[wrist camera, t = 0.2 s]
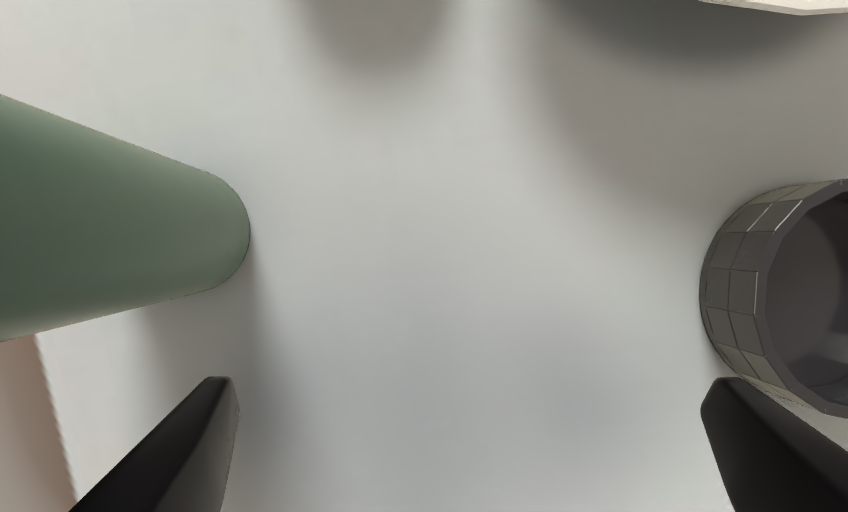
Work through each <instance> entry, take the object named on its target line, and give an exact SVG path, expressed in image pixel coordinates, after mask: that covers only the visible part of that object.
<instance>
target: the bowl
mask: <svg viewBox="0 0 848 512" xmlns="http://www.w3.org/2000/svg"><path fill="white" fill-rule="evenodd" d="M698 1H701V2H708V3H715V4H722V5H728V6H735V7H742V8H744V7H745V8H752V9H759V10H766V11H773V12H779V13H786V14H793V15H816V14H832V13H848V0H698Z"/></svg>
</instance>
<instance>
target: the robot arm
mask: <svg viewBox="0 0 848 512" xmlns="http://www.w3.org/2000/svg"><path fill="white" fill-rule="evenodd" d="M701 418H702V421H703V424H704V427H705V430H706V433H707V436H708V439H709V442H710V445H711V448H712V451H713V454H714V457H715V459H716V462H717V465H718V468H719V471H720V474H721V477H722V480H723V483H724V486H725V488H726V491H727V493H728V496H729V498H730V501H731V503H732V505H733V508H734V510H735V512H848V452H847V451H846V450H844V449H843V448H842V447H840V446H839V445H837V444H836V443H834V442H833V441H831V440H830V439H829V438H827V437H826V436H824V435H823V434H821V433H820V432H819V431H817V430H816V429H814V428H813V427H811V426H810V425H808V424H807V423H806V422H804V421H803V420H801V419H800V418H798V417H797V416H795V415H794V414H793V413H791V412H790V411H788V410H787V409H785V408H784V407H783V406H781V405H780V404H778V403H777V402H775V401H774V400H772V399H771V398H770V397H768V396H767V395H765V394H764V393H762V392H761V391H760V390H758V389H757V388H755V387H754V386H752V385H751V384H749V383H748V382H747V381H745V380H743V379H741V378H738V377H720V378H717V379H716V380H715V381H714V382H713V384H712V386H711V387H710V389H709V391H708V393H707V395H706V397H705V399H704V400H703V402H702V405H701ZM238 421H239V404H238V400H237V396H236V391H235V387H234V383H233V380H232V379H231V378H230V377H207V378H206V379H204V380H203V381H202V382H201V383H200V384H199V385H198V386H197V387H196V388H195V389H194V390H193V391H192V392H191V393H190V394H189V395H188V396H187V397H186V398H185V399H184V400H183V401H181V402H180V403H179V404H178V405H177V406H176V407H175V408H174V409H173V410H172V411H171V412H170V413H169V414H168V415H167V416H166V417H165V418H164V419H163V420H162V421H161V422H160V423H159V424H158V425H157V426H156V427H155V428H154V429H153V430H152V431H151V432H150V433H149V434H148V435H147V436H146V437H145V438H143V439H142V440H141V441H140V442H139V443H138V444H137V445H136V446H135V447H134V448H133V449H132V450H131V451H130V452H129V453H128V454H127V455H126V456H125V457H124V458H123V459H122V460H121V461H120V462H119V463H118V464H117V465H116V466H115V467H114V468H113V469H112V470H111V471H110V472H109V473H108V474H107V475H105V476H104V477H103V478H102V479H101V480H100V481H99V482H98V483H97V484H96V485H95V486H94V487H93V488H92V489H91V490H90V491H89V492H88V493H87V494H86V495H85V496H84V497H83V498H82V499H81V500H80V501H79V502H78V503H77V504H76V505H75V506H74V507H73V508H72V509H71V510H70V511H69V512H220V510H221V506H222V502H223V498H224V493H225V489H226V483H227V478H228V473H229V468H230V463H231V457H232V452H233V447H234V442H235V436H236V431H237V426H238Z"/></svg>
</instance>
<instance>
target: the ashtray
mask: <svg viewBox="0 0 848 512" xmlns="http://www.w3.org/2000/svg"><path fill="white" fill-rule="evenodd" d="M700 305H701V313H702V317H703V321H704V325H705V328H706V330H707V333H708V335H709V338H710V340H711V341H712V343H713V345H714V347H715V348H716V350H717V352H718V353H719V354H720V356H721V357H722V358H723V359H724V361H725V362H726V363H727V364H728V365H729V366H730V367H731V368H732V369H733V370H734V371H735V372H737V373H738V374H739V375H741V376H742V377H743V378H744V379H746V380H748V381H750V382H752V383H753V384H755V385H757V386H760V387H761V388H763V389H764V390H766V391H768V392H771V393H773V394H776V395H778V396H781V397H783V398H786V399H788V400H791V401H793V402H796V403H798V404H801V405H803V406H806V407H808V408H811V409H813V410H816V411H819V412H821V413H824V414H828V415H832V416H837V417H842V418H846V419H848V179H840V180H833V181H826V182H819V183H812V184H805V185H798V186H790V187H783V188H780V189H777V190H774V191H771V192H768V193H765V194H763V195H761V196H759V197H756V198H755V199H753V200H751V201H750V202H748V203H747V204H745V205H744V206H742V207H741V208H740V209H739V210H738V211H736V212H735V213H734V214H733V215H732V216H731V217H730V218H729V219H728V220H727V221H726V222H725V223H724V225H723V226H722V228H721V229H720V230H719V232H718V233H717V234H716V236H715V238H714V240H713V242H712V243H711V245H710V247H709V250H708V252H707V255H706V257H705V261H704V264H703V268H702V272H701V280H700Z"/></svg>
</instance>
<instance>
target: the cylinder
mask: <svg viewBox="0 0 848 512" xmlns="http://www.w3.org/2000/svg"><path fill="white" fill-rule="evenodd" d="M249 237H250V225H249V219H248V215H247V212H246V209H245V207H244V205H243V203H242V201H241V199H240V198H239V196H238V195H237V194H236V192H235V191H234V190H233V189H232V188H231V187H230V186H229V185H228V184H227V183H225V182H224V181H223V180H221V179H220V178H218V177H216V176H214V175H212V174H210V173H207V172H205V171H202V170H199V169H197V168H194V167H191V166H189V165H186V164H184V163H181V162H178V161H176V160H173V159H170V158H168V157H165V156H162V155H160V154H157V153H155V152H152V151H149V150H147V149H144V148H141V147H139V146H136V145H133V144H131V143H128V142H126V141H123V140H120V139H118V138H115V137H112V136H110V135H107V134H104V133H102V132H99V131H97V130H94V129H91V128H89V127H86V126H83V125H81V124H78V123H75V122H73V121H70V120H68V119H65V118H62V117H60V116H57V115H54V114H52V113H49V112H46V111H44V110H41V109H38V108H36V107H33V106H31V105H28V104H25V103H23V102H20V101H17V100H15V99H12V98H9V97H7V96H4V95H2V94H0V342H3V341H7V340H11V339H15V338H19V337H23V336H27V335H31V334H35V333H39V332H43V331H47V330H51V329H55V328H59V327H63V326H67V325H71V324H75V323H79V322H83V321H87V320H91V319H94V318H98V317H102V316H106V315H110V314H114V313H118V312H122V311H126V310H130V309H134V308H138V307H142V306H146V305H150V304H154V303H158V302H162V301H166V300H170V299H174V298H178V297H182V296H186V295H190V294H194V293H198V292H201V291H205V290H208V289H211V288H213V287H215V286H217V285H219V284H221V283H222V282H224V281H225V280H226V279H228V278H229V277H230V276H231V275H232V274H233V273H234V272H235V271H236V270H237V268H238V267H239V266H240V264H241V262H242V260H243V259H244V256H245V254H246V251H247V248H248V244H249Z"/></svg>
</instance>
